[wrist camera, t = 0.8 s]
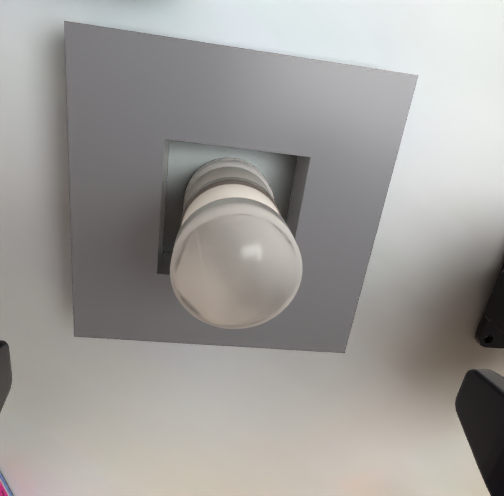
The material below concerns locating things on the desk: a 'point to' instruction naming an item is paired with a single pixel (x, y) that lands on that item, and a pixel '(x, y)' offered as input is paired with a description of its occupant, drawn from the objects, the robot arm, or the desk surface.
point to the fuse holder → (227, 135)
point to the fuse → (233, 248)
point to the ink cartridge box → (4, 487)
